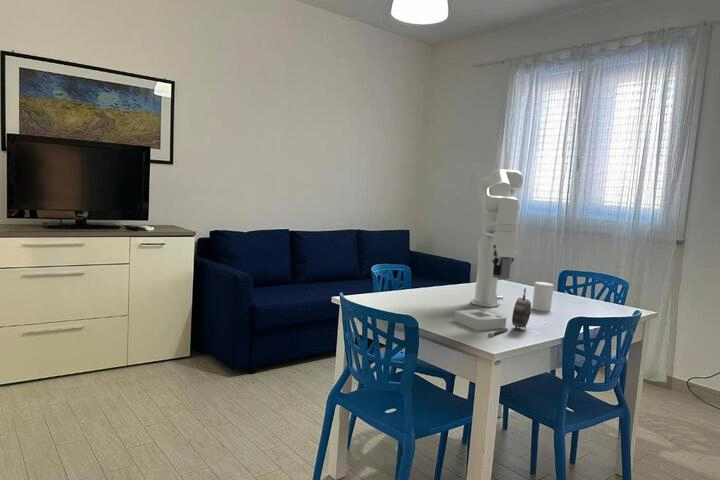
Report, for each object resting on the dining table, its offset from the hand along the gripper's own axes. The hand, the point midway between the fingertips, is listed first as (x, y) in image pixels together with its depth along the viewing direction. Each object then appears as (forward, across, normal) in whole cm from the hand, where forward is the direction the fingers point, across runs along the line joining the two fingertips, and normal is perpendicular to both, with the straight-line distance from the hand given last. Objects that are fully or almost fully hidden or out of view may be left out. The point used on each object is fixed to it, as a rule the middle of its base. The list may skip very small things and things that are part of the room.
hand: (501, 274), depth 207 cm
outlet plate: (+20, +9, 0) cm, 22 cm away
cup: (+19, -42, -13) cm, 48 cm away
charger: (+2, 0, 0) cm, 2 cm away
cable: (+20, +11, +12) cm, 25 cm away
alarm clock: (+20, -3, +10) cm, 23 cm away
